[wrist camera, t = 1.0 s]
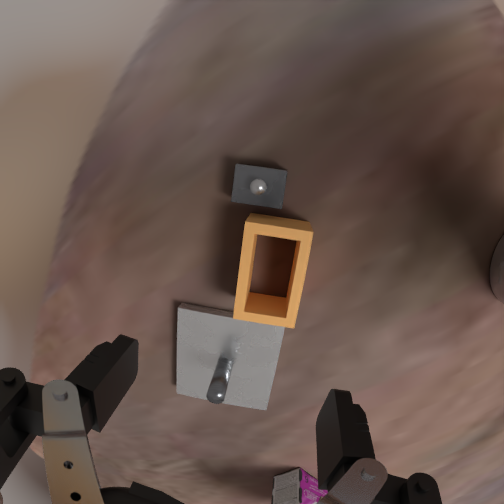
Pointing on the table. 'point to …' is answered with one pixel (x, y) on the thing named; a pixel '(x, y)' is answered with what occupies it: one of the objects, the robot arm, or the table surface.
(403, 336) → the table surface
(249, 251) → the orange link
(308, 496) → the candy bar box
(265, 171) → the grey knob block
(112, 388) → the robot arm
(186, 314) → the plate
